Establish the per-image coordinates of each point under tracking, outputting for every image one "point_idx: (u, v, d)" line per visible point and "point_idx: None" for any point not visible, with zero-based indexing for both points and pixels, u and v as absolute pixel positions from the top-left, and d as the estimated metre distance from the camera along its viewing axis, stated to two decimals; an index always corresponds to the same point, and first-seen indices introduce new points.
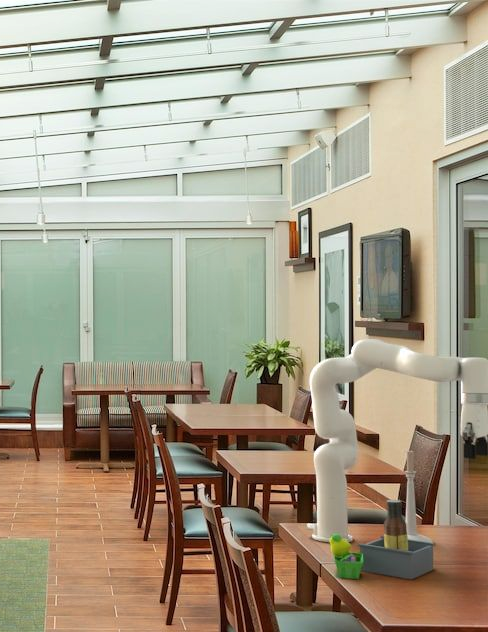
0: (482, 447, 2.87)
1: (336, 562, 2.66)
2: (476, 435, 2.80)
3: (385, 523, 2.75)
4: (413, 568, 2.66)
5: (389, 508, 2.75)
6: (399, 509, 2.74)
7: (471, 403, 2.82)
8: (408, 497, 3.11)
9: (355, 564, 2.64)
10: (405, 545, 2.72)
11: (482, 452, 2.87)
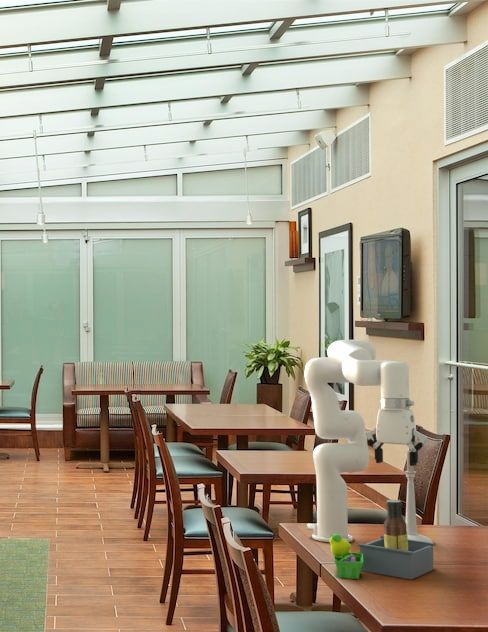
0: None
1: (336, 562, 2.66)
2: (377, 439, 2.77)
3: (385, 523, 2.75)
4: (413, 568, 2.66)
5: (389, 508, 2.75)
6: (399, 509, 2.74)
7: None
8: (408, 497, 3.11)
9: (355, 564, 2.64)
10: (405, 545, 2.72)
11: None
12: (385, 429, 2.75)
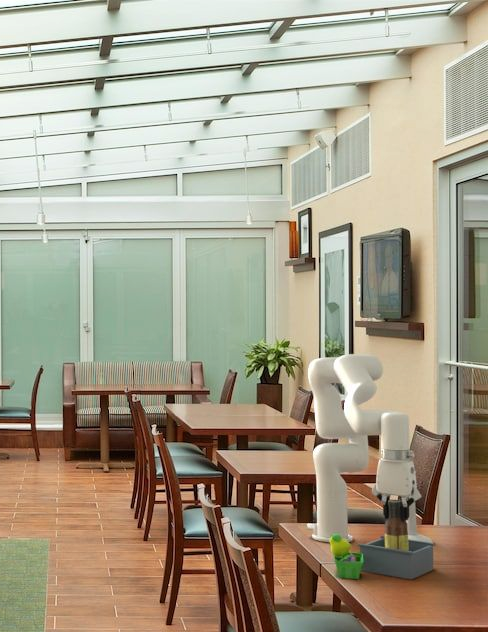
0: None
1: (336, 562, 2.66)
2: (377, 490, 2.77)
3: (386, 523, 2.75)
4: (413, 568, 2.66)
5: (390, 508, 2.74)
6: (400, 509, 2.73)
7: None
8: None
9: (355, 564, 2.64)
10: (406, 545, 2.72)
11: None
12: (385, 480, 2.75)
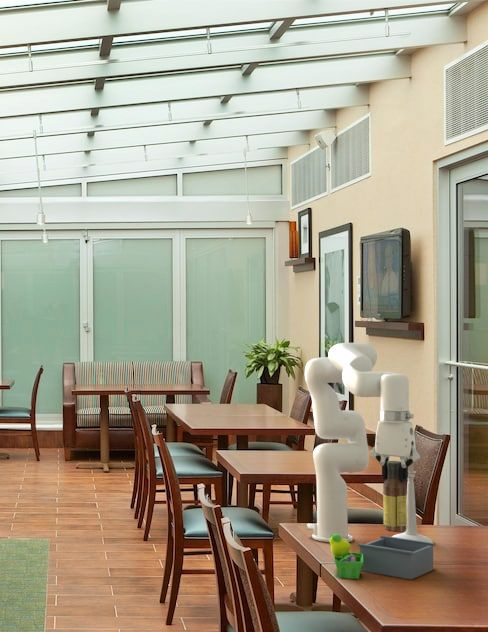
0: None
1: (336, 562, 2.66)
2: (376, 451, 2.78)
3: (385, 484, 2.76)
4: (413, 568, 2.66)
5: (389, 469, 2.75)
6: (399, 470, 2.74)
7: None
8: (408, 497, 3.11)
9: (355, 564, 2.64)
10: (404, 506, 2.73)
11: None
12: (384, 441, 2.75)
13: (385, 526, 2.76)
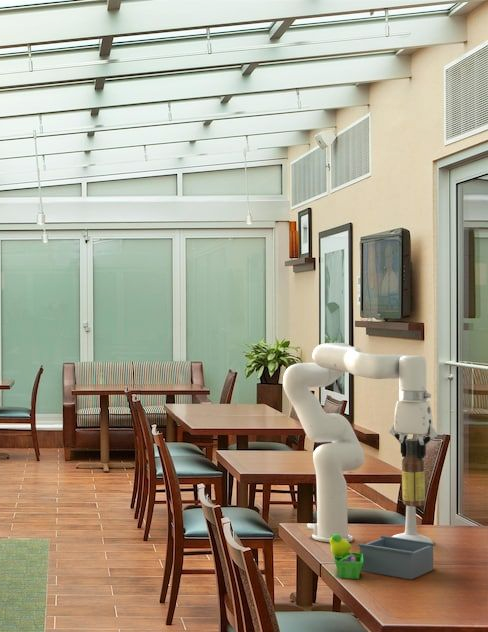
0: None
1: (336, 562, 2.66)
2: (395, 430, 2.91)
3: (403, 460, 2.89)
4: (413, 568, 2.66)
5: (408, 446, 2.88)
6: (417, 447, 2.87)
7: None
8: None
9: (355, 564, 2.64)
10: (422, 481, 2.86)
11: None
12: (403, 420, 2.88)
13: (404, 501, 2.88)
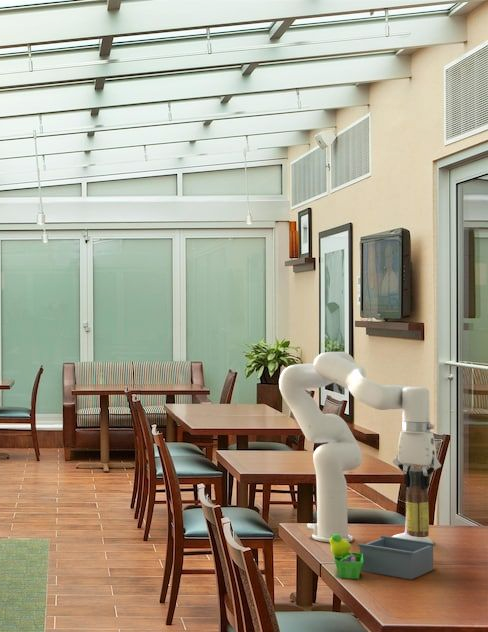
0: None
1: (336, 562, 2.66)
2: (398, 460, 2.93)
3: (407, 491, 2.91)
4: (413, 568, 2.66)
5: (411, 477, 2.90)
6: (421, 478, 2.89)
7: None
8: None
9: (355, 564, 2.64)
10: (426, 512, 2.88)
11: None
12: (406, 451, 2.91)
13: (408, 531, 2.90)
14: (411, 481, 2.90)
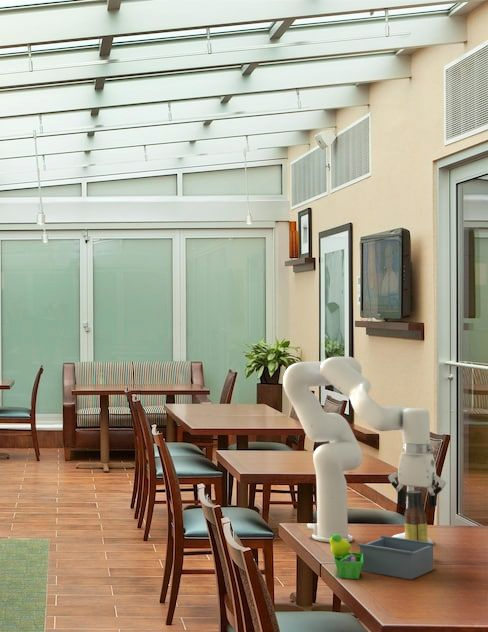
0: None
1: (336, 562, 2.66)
2: (399, 481, 2.93)
3: (405, 513, 2.91)
4: (413, 568, 2.66)
5: (409, 498, 2.90)
6: (419, 499, 2.89)
7: None
8: None
9: (355, 564, 2.64)
10: (425, 533, 2.88)
11: None
12: (407, 472, 2.90)
13: None
14: (409, 503, 2.90)
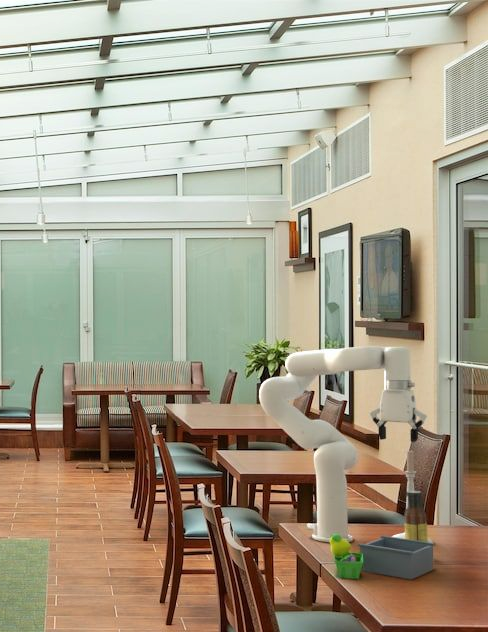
0: None
1: (336, 562, 2.66)
2: None
3: (405, 513, 2.91)
4: (413, 568, 2.66)
5: (409, 498, 2.90)
6: (419, 499, 2.89)
7: None
8: None
9: (355, 564, 2.64)
10: (425, 533, 2.88)
11: None
12: (388, 408, 3.01)
13: None
14: (409, 503, 2.90)
